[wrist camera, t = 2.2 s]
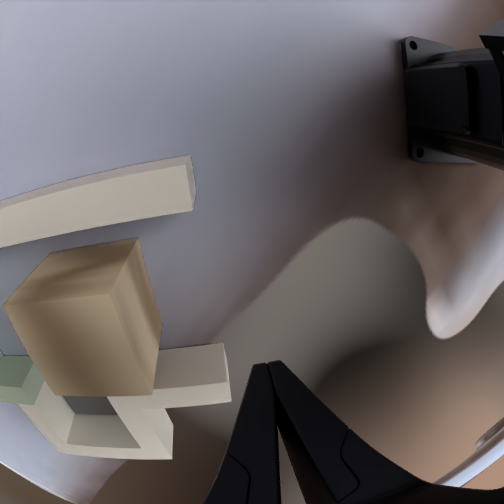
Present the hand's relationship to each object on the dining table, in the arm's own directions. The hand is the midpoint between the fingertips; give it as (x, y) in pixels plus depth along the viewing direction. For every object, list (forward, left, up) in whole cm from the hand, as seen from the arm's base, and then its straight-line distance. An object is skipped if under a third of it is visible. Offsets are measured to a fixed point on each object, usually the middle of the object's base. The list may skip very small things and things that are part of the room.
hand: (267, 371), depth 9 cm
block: (+7, 0, -7) cm, 10 cm away
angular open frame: (+10, +3, -7) cm, 13 cm away
